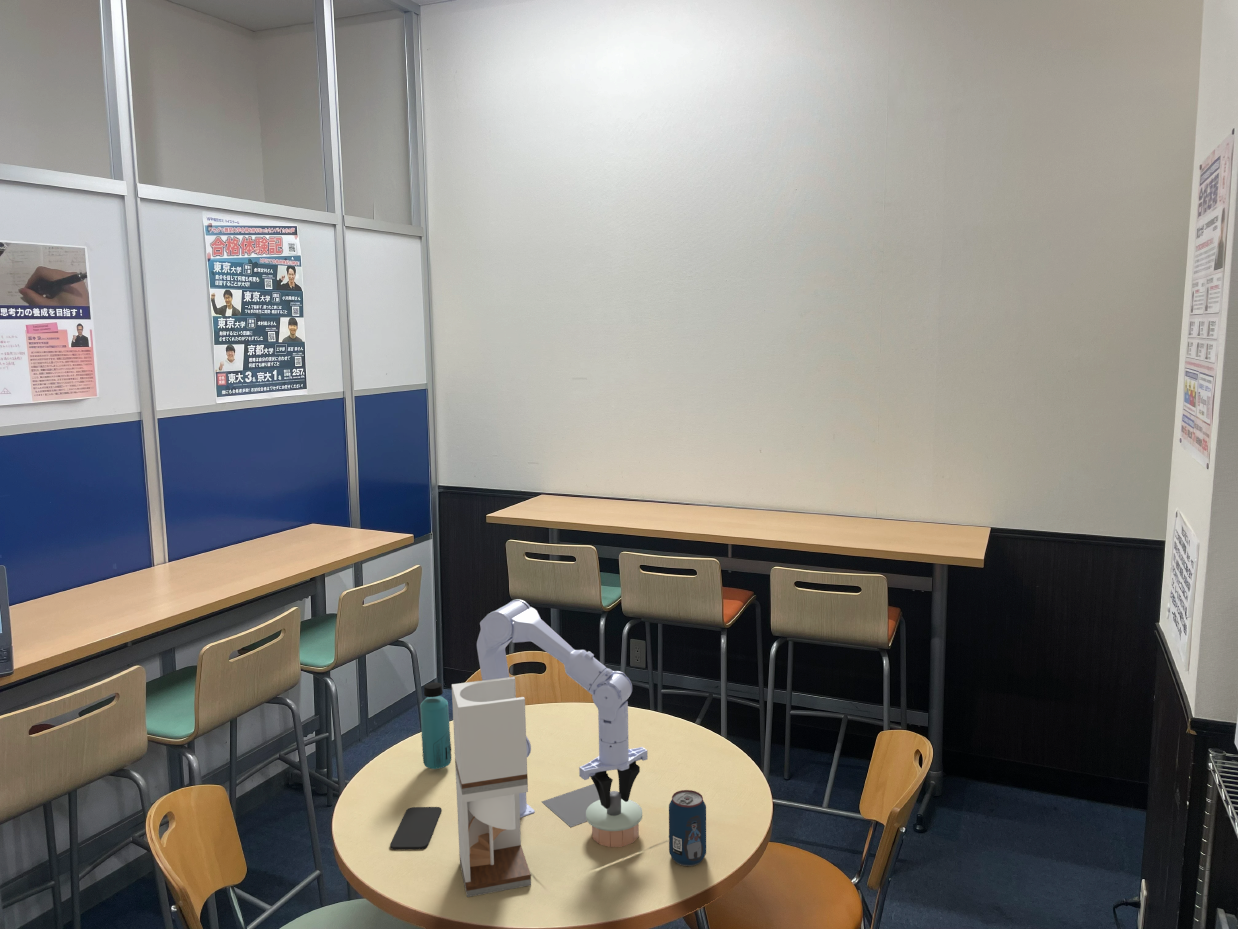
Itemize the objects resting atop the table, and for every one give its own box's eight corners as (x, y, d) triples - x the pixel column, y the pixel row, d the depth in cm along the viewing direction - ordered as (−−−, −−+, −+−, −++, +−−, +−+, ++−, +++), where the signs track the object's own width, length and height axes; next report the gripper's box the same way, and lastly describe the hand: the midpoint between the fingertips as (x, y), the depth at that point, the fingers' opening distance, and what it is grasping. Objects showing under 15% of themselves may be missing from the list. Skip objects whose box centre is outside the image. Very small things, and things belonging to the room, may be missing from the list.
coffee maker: (466, 897, 159) (458, 707, 154) (459, 863, 169) (451, 684, 164) (531, 885, 162) (524, 698, 157) (520, 852, 172) (514, 676, 167)
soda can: (683, 843, 175) (682, 784, 173) (713, 855, 170) (713, 795, 168) (661, 859, 169) (661, 799, 168) (692, 873, 165) (692, 811, 163)
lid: (605, 837, 170) (604, 815, 169) (575, 811, 179) (575, 791, 178) (653, 819, 176) (653, 798, 175) (622, 795, 185) (622, 775, 184)
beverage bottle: (449, 775, 202) (445, 690, 199) (419, 775, 203) (415, 690, 200) (455, 761, 209) (451, 679, 206) (426, 762, 209) (422, 679, 206)
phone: (443, 806, 189) (426, 847, 174) (443, 810, 189) (427, 851, 174) (407, 807, 189) (388, 847, 174) (407, 810, 189) (388, 851, 174)
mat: (570, 829, 180) (570, 827, 180) (541, 803, 190) (541, 801, 190) (629, 807, 188) (629, 806, 188) (598, 784, 198) (598, 782, 198)
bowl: (608, 853, 171) (608, 834, 171) (583, 832, 179) (583, 813, 178) (647, 838, 176) (647, 819, 176) (621, 818, 184) (621, 799, 183)
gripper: (592, 755, 167) (594, 823, 169) (656, 734, 175) (657, 800, 177) (572, 740, 173) (574, 807, 175) (635, 721, 181) (636, 785, 183)
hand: (614, 803), depth 177 cm, fingers open, 4 cm apart
